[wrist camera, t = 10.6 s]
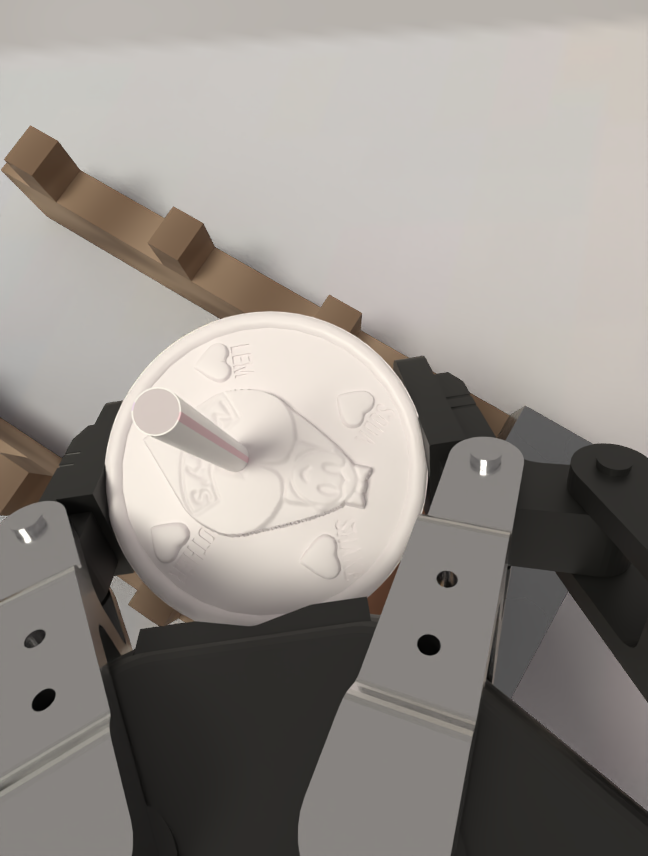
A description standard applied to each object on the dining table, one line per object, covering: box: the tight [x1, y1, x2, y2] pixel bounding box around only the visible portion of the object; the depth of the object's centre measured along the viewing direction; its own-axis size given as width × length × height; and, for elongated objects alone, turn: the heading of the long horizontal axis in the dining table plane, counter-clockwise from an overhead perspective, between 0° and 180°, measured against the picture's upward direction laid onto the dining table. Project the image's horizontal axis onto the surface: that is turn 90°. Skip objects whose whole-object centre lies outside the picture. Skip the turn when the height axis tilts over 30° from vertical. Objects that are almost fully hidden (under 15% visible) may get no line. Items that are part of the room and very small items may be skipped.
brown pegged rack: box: [0, 125, 509, 626], centre depth 18 cm, size 22×11×4 cm, turn 58°
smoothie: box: [105, 311, 428, 626], centre depth 13 cm, size 6×6×14 cm
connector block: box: [493, 406, 592, 699], centre depth 17 cm, size 4×11×4 cm, turn 148°
